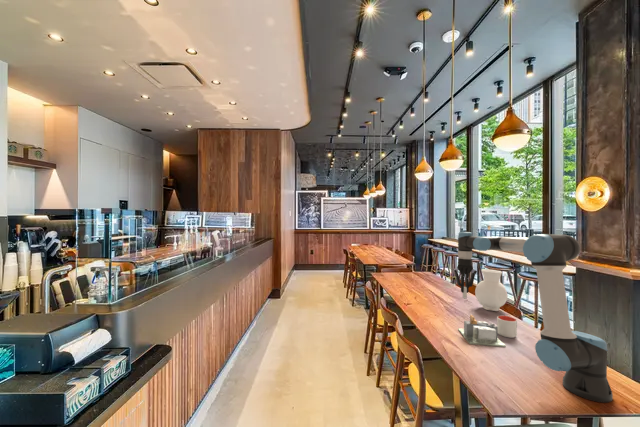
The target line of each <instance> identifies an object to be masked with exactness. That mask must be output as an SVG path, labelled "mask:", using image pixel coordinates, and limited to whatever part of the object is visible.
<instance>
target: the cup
mask: <svg viewBox="0 0 640 427" xmlns="http://www.w3.org/2000/svg"><path fill="white" fill-rule="evenodd" d="M496 318H497V321H496V326H497V327H498V334H497V335H499V336H501V337H504V338H511V339H512V338H516V337H517V334H518V333H517V332H518V320H517V318H514V317H512V316H507V315H498V316H496Z"/></svg>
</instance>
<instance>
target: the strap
mask: <svg viewBox="0 0 640 427" xmlns="http://www.w3.org/2000/svg"><path fill="white" fill-rule="evenodd" d="M474 325H478V326H484V327H490V328H493V325H490V324H488V325H486V324H480V323H477V324H474Z"/></svg>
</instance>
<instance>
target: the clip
mask: <svg viewBox="0 0 640 427" xmlns="http://www.w3.org/2000/svg"><path fill="white" fill-rule="evenodd" d="M469 321H470V322H471V323H472V324H477V321H478V320H477V319H476V318H475V316H474V315H473V314H469Z"/></svg>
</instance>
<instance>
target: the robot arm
mask: <svg viewBox="0 0 640 427" xmlns="http://www.w3.org/2000/svg"><path fill="white" fill-rule="evenodd" d="M473 250H476V251H479V252H481V251H482V252H486V251H506V252H508V251H509V252H517V253H523V255H524V257H525V258H526V260H528V261H530V263H531V267H532V268H533V269H535V271H536V275H537V278H536V279H537V284H538V291H539V300H540V305H541V314H542V321H543V329H542V330H541V331H540V334H539V335H540V339H538V341H537V342H536V343H535V346H534V349H535V353H536V356H537V358H538V359H539V360H540V361H541V363H543V365H544V366H545V367H547V368H548V369H550V370H552V371H555V372H565V373H564V375H563V378H562V385H563V387H564V388H565V389H566V390H568V392H570V393H572V394H573V395H576V396H578V397H581V398H582V399H587V400H589V401H592V402H599V403H611V402H613V397H614V396H613V390H612V389H611V385H610V383H609V381H608V375H607V374H608V370H607V369H608V351H609V350H608V343H607V342H606V341H605V339H603V338H601V337H599V336H596V335H593V334H589V333H586V332H582V331H578V330H572V328H571V321H570V315H569V307H568V301H567V294H566V293H567V292H566V287H565V280H564V273H563V272H564V271H563V270H564V269H566V268H567V262H569V261H573V260H575V259H576V258H577V257H578V256H579V255H580V252H581V244H580V243H579V241H578V240H577V239H576V238H575V237H573V236H571V235H567V234H561V233H559V234H558V233H555V234H552V233H551V234H550V233H541V234H540V233H539V234H533V235H531V236H528V237H523V236H522V237H521V236H520V237H517V236H515V237H514V236H474V235H473V232H470V231H460V232H459V233H458V236H457V257H458V258H457V267H456V268H454V269H452V271H453V273H454V275H455V279H456V280H455V281H456V284H457V285H458V286H459V287H460V292H461V294H462V299H465V300H466V299H467V300H468V296H467V295H468V293H469V288H470V287H473V284H474V281H475V278H476V274H477V273H478V271H477V269H476V270H475V269H474V267H473V259H472V258H473ZM459 273H460V275H459Z"/></svg>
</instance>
